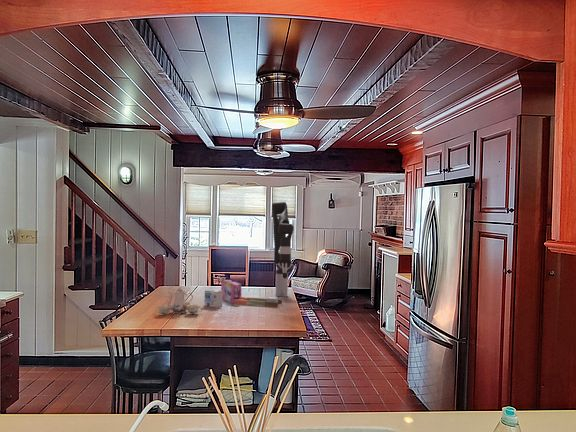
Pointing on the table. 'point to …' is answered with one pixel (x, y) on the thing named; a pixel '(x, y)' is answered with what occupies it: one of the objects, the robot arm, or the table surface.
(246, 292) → the table surface
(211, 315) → the table surface
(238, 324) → the table surface
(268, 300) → the slate block
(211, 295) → the light bulb box
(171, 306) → the chinaware
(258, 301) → the track
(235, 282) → the gum box
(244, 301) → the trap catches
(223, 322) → the table surface
